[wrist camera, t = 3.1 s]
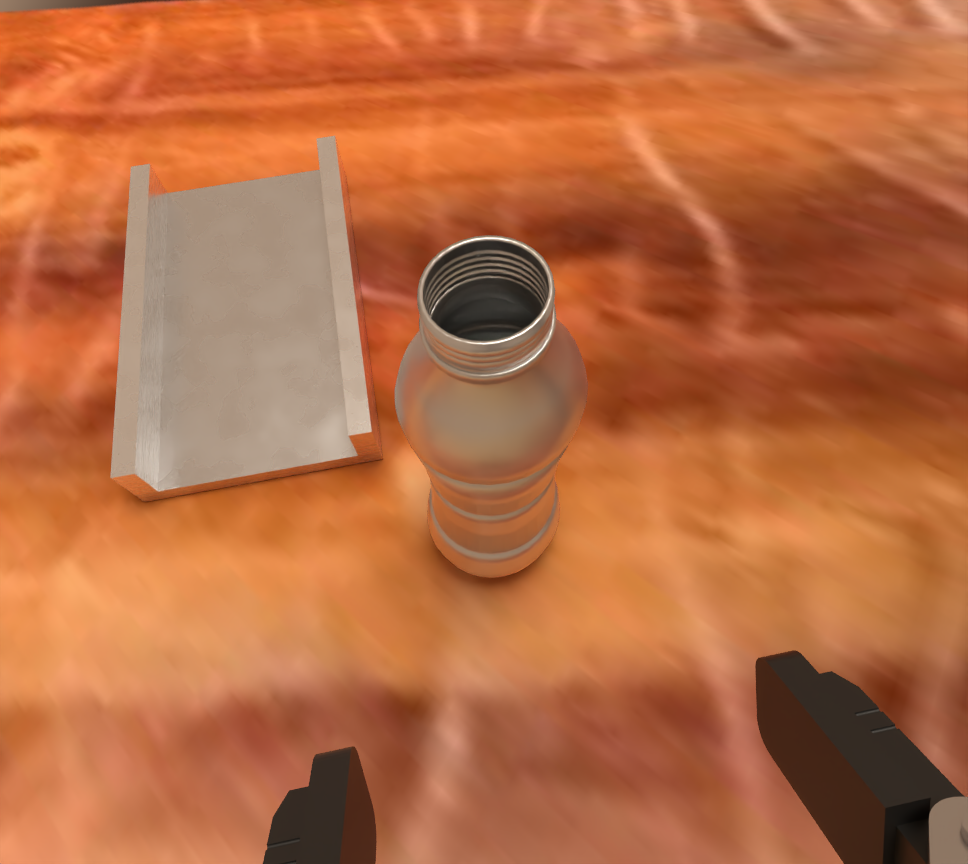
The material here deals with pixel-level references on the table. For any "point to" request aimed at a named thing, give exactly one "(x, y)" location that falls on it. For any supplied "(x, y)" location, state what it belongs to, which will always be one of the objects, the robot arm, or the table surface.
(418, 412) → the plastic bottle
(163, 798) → the table surface
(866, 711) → the robot arm
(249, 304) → the aluminium track
